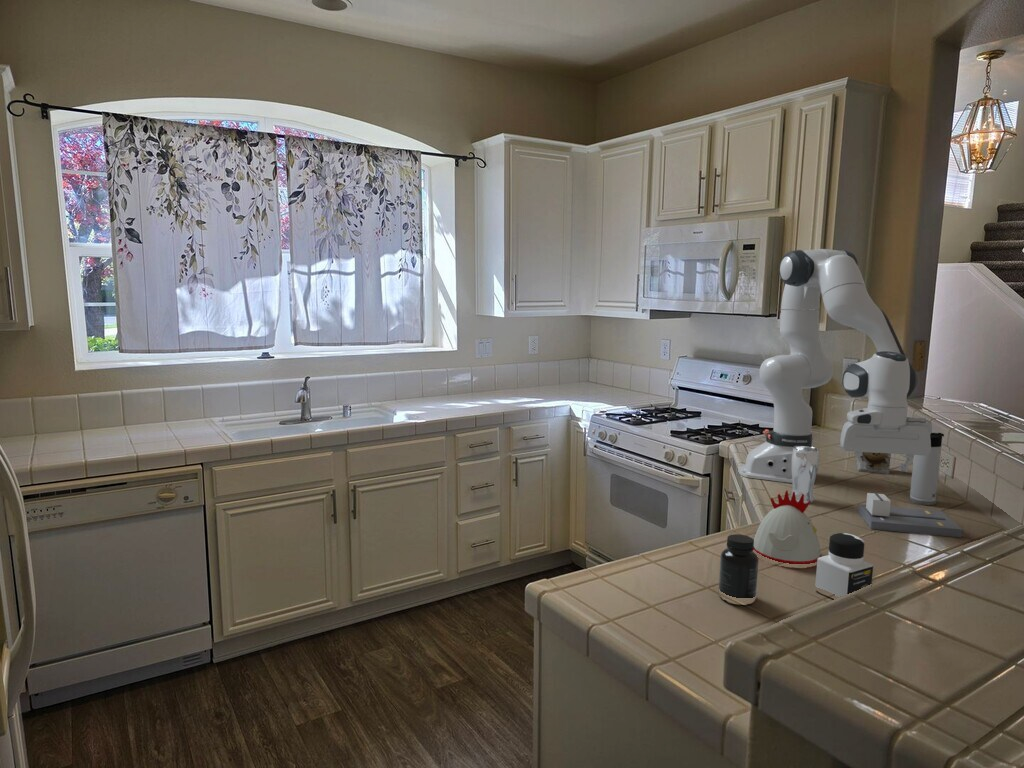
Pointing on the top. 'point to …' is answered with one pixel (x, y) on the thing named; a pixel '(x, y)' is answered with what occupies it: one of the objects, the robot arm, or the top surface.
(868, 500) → the fader knob
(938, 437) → the travel mug
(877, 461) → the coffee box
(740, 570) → the supplement bottle
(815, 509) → the top surface
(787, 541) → the kitchen timer
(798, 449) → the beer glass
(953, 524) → the fader panel
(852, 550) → the medicine bottle
